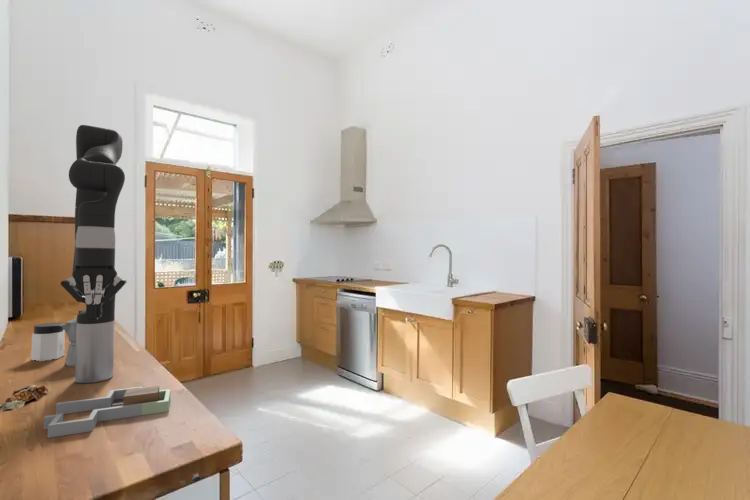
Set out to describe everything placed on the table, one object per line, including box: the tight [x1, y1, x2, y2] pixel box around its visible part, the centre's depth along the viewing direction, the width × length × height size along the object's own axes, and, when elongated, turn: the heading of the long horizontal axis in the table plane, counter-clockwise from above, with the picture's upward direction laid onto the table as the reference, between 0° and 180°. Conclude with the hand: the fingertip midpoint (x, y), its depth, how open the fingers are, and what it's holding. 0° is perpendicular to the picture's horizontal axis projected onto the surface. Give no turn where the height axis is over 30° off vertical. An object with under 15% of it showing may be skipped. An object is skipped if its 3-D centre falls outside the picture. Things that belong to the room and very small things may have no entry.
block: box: [122, 385, 160, 406], centre depth 93 cm, size 5×7×4 cm
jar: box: [30, 322, 66, 362], centre depth 135 cm, size 9×8×12 cm
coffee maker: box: [59, 310, 83, 367], centre depth 131 cm, size 15×9×18 cm, turn 148°
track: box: [43, 385, 172, 439], centre depth 90 cm, size 19×24×2 cm
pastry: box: [0, 384, 49, 412], centre depth 96 cm, size 7×12×4 cm, turn 21°
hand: (93, 319), depth 89 cm, fingers closed
